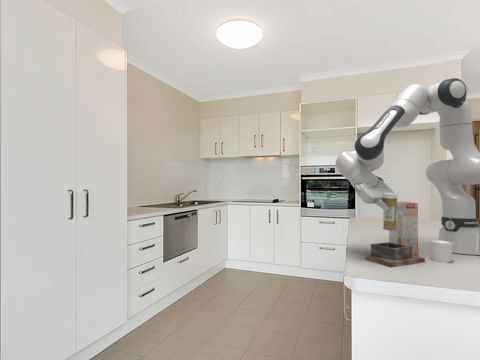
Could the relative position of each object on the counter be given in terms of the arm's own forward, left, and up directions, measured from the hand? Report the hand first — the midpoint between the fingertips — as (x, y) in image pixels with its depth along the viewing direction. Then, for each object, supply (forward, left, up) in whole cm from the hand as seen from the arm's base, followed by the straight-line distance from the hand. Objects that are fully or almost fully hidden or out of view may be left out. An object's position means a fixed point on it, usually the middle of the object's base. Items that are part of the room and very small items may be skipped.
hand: (391, 209), depth 101 cm
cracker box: (-17, -9, -19) cm, 27 cm away
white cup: (-17, +6, -19) cm, 26 cm away
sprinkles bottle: (0, -1, -8) cm, 8 cm away
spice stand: (-1, 0, -19) cm, 19 cm away
